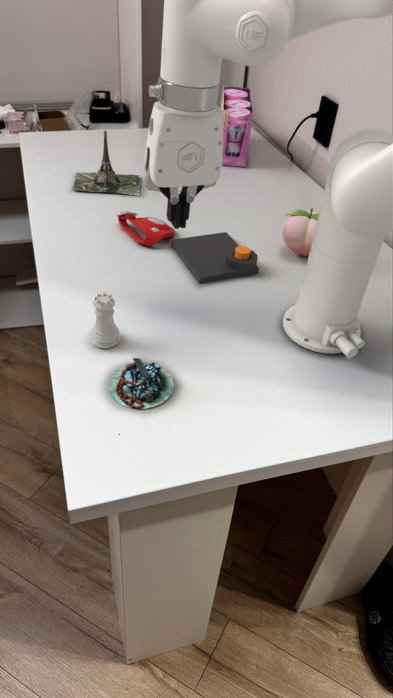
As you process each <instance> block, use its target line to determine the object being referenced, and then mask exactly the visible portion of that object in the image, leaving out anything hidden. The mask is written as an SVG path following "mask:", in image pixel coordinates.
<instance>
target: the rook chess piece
mask: <svg viewBox="0 0 393 698" xmlns="http://www.w3.org/2000/svg"><path fill="white" fill-rule="evenodd" d="M102 293H103V294H101V292H98V293H96V295H95V296H94V299H93V300H92V306H93V307H94V308H95V309H94V314H95V324H94V325H93V327H92V328H91V331H90V341H91V343H92V344H93V345H94V346H95V347H96V348H99V349H110V348H113V347H115V346H116V345H118V343H119V342H120V340H121V336H120V329H119V328H118V326H117V325H116V323H115V320H114V313H115V310H114V307H115V306H116V300H115V299H114V297H113V294H111V293H108V292H106V291H103V292H102Z"/></svg>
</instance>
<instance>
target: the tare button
mask: <svg viewBox="0 0 393 698" xmlns="http://www.w3.org/2000/svg"><path fill="white" fill-rule="evenodd" d="M251 250H252V249H250V247H247V246H245V245H239V246H238V247H236V249H235V258H237V259H239V260H248V259H249V258H250V252H251Z"/></svg>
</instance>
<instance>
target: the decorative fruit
mask: <svg viewBox="0 0 393 698" xmlns="http://www.w3.org/2000/svg"><path fill="white" fill-rule="evenodd" d="M319 214H320V212H317V211H314V208H312V207H311V208H310V210H307V209H306V210H304V209H293V210H291V211H289V212H287V213H286V214H285V216H289V217H288V218H287V219H286V221H285V222H284V225H283V228H282V236H281V237H282V239H283V242H284V244H285V245H286V246H287V248H288V249H290V251H292V252H293V253H294V254H297V255H298V256H302V257H307V256H309V253H310V249H311V245H312V241H313V238H314V234H315V230H316V226H317V222H318V218H319Z"/></svg>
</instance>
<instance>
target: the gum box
mask: <svg viewBox="0 0 393 698" xmlns="http://www.w3.org/2000/svg"><path fill="white" fill-rule="evenodd" d="M220 100H221V101H220V108H221V109H222V116H223V154H222V166H231V167H240V168H246V167H247V159H248V153H249V148H250V147H249V146H250V139H251V131H252V126H253V125H252V124H253V117H254V105H253V101H252V93H251V88H249V87H242V86H241V87H240V86H233V85H232V86H231V85H223V86H222V92H221V99H220Z"/></svg>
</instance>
